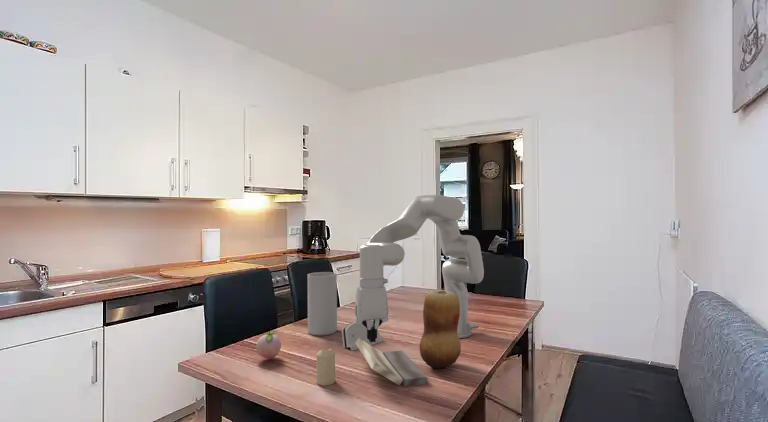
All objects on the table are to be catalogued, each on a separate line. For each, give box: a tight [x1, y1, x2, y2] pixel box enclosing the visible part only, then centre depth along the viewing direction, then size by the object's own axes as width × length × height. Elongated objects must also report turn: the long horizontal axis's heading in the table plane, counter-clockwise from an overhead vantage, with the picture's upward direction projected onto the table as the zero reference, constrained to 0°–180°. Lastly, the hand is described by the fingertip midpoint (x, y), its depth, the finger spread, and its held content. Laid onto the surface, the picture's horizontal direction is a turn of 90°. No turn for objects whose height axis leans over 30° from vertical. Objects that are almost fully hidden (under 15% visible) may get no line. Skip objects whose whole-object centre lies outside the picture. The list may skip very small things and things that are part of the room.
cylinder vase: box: [307, 271, 338, 337], centre depth 170 cm, size 12×12×25 cm
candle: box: [316, 346, 336, 387], centre depth 118 cm, size 6×6×10 cm
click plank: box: [356, 338, 403, 386], centre depth 124 cm, size 10×24×2 cm
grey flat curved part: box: [341, 320, 384, 352], centre depth 153 cm, size 17×5×10 cm, turn 134°
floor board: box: [382, 349, 428, 387], centre depth 127 cm, size 7×24×2 cm, turn 16°
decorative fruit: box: [256, 330, 282, 361], centre depth 137 cm, size 9×8×10 cm
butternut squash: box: [418, 289, 462, 369], centre depth 129 cm, size 14×13×25 cm
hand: (372, 340), depth 124 cm, fingers closed
